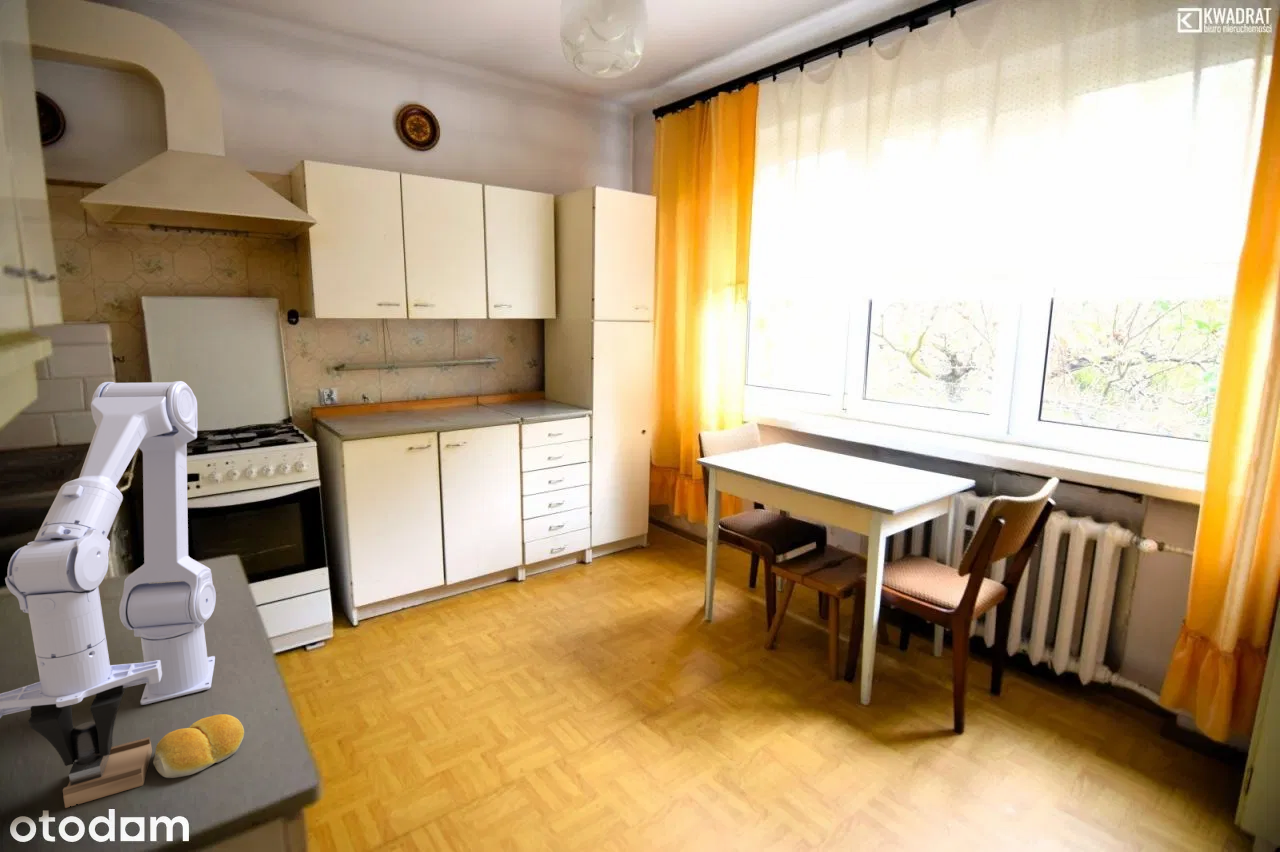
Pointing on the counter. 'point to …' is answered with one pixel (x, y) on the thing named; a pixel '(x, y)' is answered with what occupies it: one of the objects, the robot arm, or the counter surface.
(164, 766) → the bread roll
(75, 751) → the jaw
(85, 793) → the press bed
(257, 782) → the counter surface
